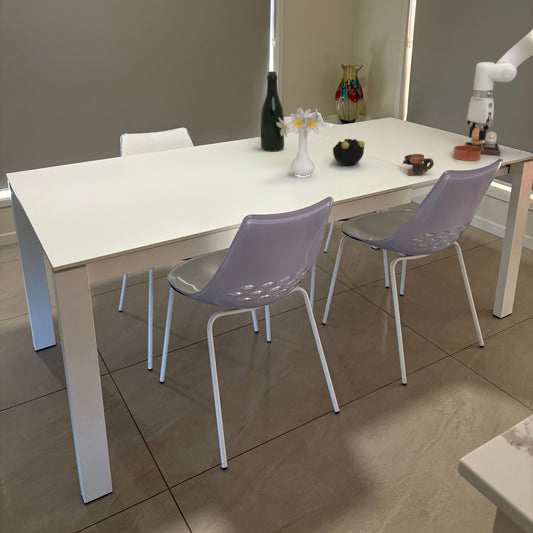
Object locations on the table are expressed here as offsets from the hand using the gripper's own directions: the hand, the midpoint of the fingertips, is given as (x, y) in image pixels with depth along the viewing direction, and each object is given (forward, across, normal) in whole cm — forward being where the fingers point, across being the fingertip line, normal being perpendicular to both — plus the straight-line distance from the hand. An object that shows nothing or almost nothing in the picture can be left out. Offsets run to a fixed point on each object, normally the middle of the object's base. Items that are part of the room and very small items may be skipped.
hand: (477, 138), depth 248 cm
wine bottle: (+5, +52, +70) cm, 87 cm away
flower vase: (+6, +10, +81) cm, 82 cm away
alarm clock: (+6, +14, +57) cm, 59 cm away
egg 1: (+3, 0, 0) cm, 3 cm away
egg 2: (+6, 0, -9) cm, 11 cm away
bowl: (+7, -5, +10) cm, 13 cm away
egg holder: (+7, 0, -4) cm, 8 cm away
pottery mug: (+6, -9, +40) cm, 42 cm away
